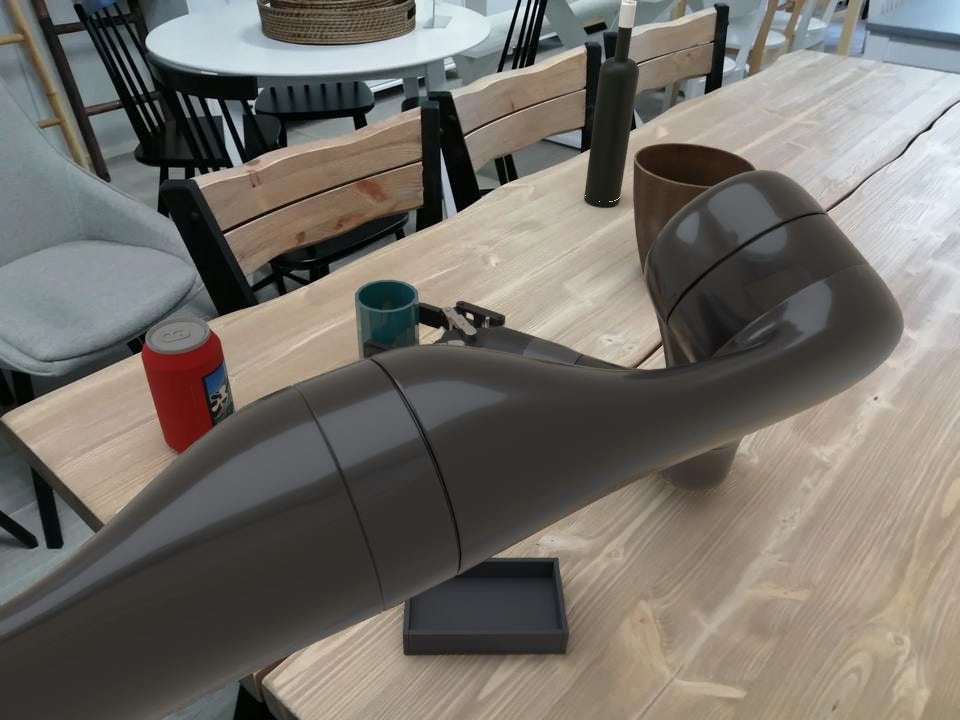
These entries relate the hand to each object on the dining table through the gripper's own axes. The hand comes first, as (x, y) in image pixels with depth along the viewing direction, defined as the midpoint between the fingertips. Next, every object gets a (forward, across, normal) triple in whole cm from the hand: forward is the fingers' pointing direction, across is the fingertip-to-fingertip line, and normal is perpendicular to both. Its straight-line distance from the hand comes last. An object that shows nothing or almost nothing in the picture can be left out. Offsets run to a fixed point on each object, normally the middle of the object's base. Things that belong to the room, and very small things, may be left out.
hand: (388, 328), depth 77 cm
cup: (0, 0, +6) cm, 6 cm away
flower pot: (-21, -38, +6) cm, 44 cm away
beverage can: (+10, +18, +6) cm, 21 cm away
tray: (-23, +22, +6) cm, 32 cm away
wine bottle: (-4, -57, +6) cm, 58 cm away
